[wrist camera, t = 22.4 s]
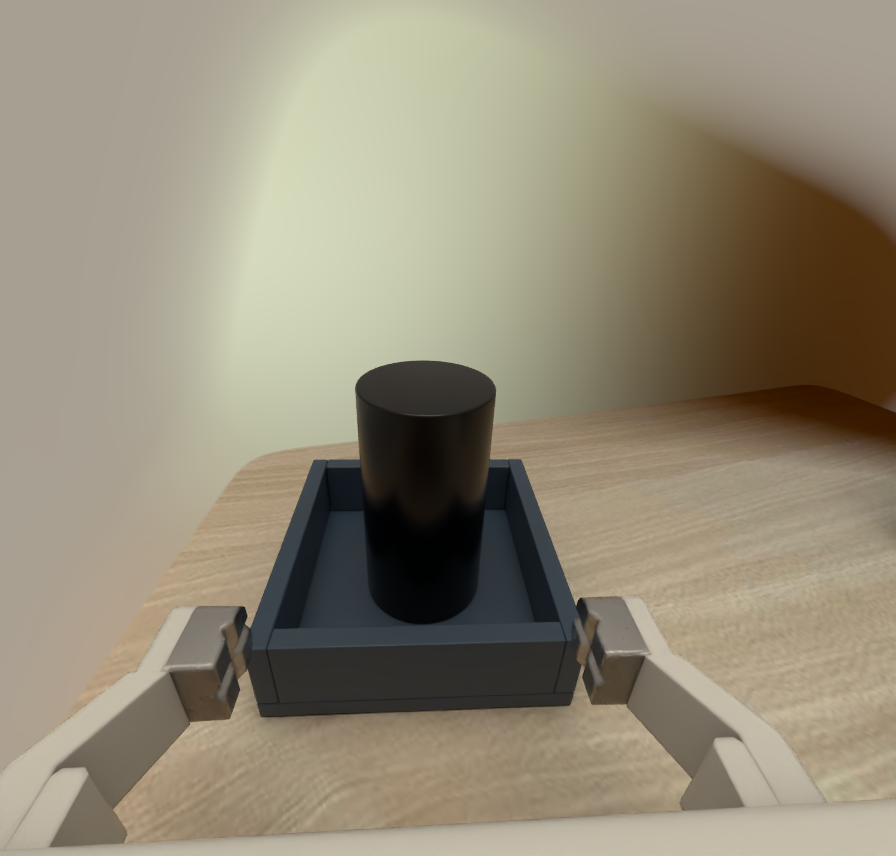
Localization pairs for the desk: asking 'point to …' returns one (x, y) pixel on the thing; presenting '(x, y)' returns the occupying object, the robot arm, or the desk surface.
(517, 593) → the holder
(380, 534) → the cylinder
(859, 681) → the desk surface
